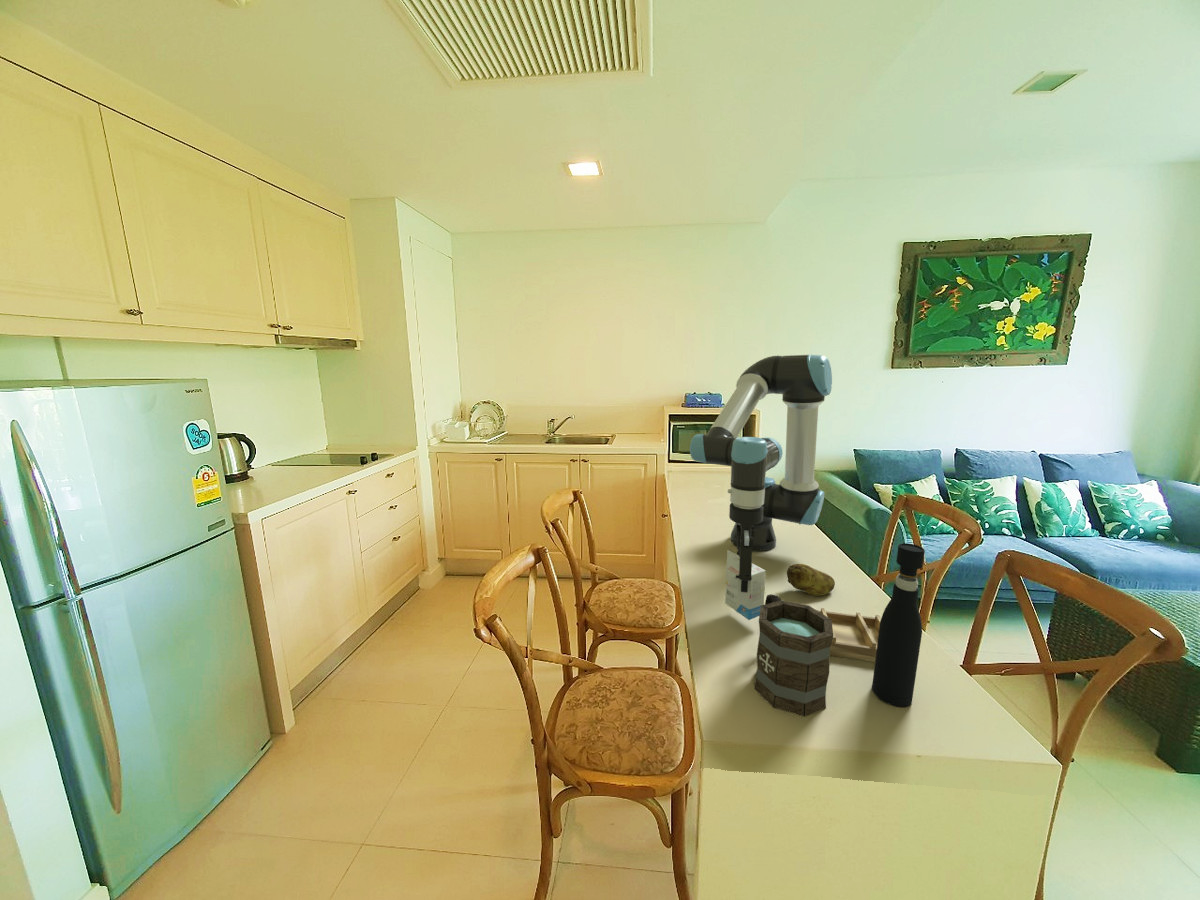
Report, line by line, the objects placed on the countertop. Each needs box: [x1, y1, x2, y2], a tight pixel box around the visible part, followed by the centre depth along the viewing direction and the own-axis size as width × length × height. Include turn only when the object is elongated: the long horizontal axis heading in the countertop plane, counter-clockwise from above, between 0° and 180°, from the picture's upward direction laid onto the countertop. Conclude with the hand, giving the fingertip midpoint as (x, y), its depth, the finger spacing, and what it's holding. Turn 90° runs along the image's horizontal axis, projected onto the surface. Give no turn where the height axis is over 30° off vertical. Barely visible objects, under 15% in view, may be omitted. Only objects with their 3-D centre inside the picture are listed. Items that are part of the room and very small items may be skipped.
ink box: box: [724, 549, 766, 621], centre depth 105 cm, size 8×5×15 cm, turn 26°
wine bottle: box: [871, 542, 926, 708], centre depth 80 cm, size 6×6×30 cm
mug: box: [754, 593, 833, 718], centre depth 86 cm, size 20×14×15 cm
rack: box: [816, 607, 882, 663], centre depth 99 cm, size 13×20×4 cm, turn 74°
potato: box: [786, 563, 836, 596], centre depth 119 cm, size 8×13×8 cm, turn 76°
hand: (742, 591), depth 106 cm, fingers closed on ink box, 9 cm apart
